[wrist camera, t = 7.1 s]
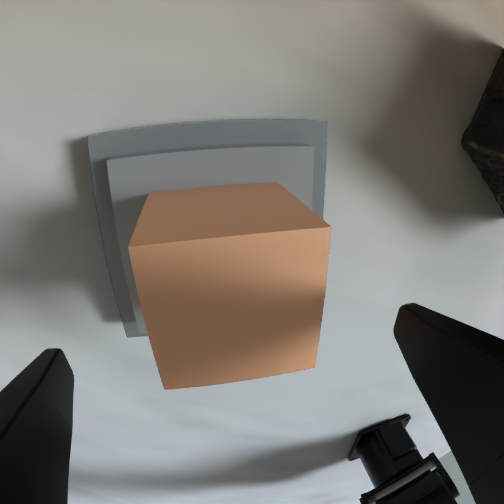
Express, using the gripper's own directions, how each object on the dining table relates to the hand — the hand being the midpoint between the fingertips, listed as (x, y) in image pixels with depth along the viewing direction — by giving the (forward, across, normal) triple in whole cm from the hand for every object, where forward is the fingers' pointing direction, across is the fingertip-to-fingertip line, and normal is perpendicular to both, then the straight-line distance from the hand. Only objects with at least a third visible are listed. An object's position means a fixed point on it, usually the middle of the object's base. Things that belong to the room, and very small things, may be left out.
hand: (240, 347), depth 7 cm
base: (+9, 0, 0) cm, 9 cm away
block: (+6, 0, 0) cm, 6 cm away
